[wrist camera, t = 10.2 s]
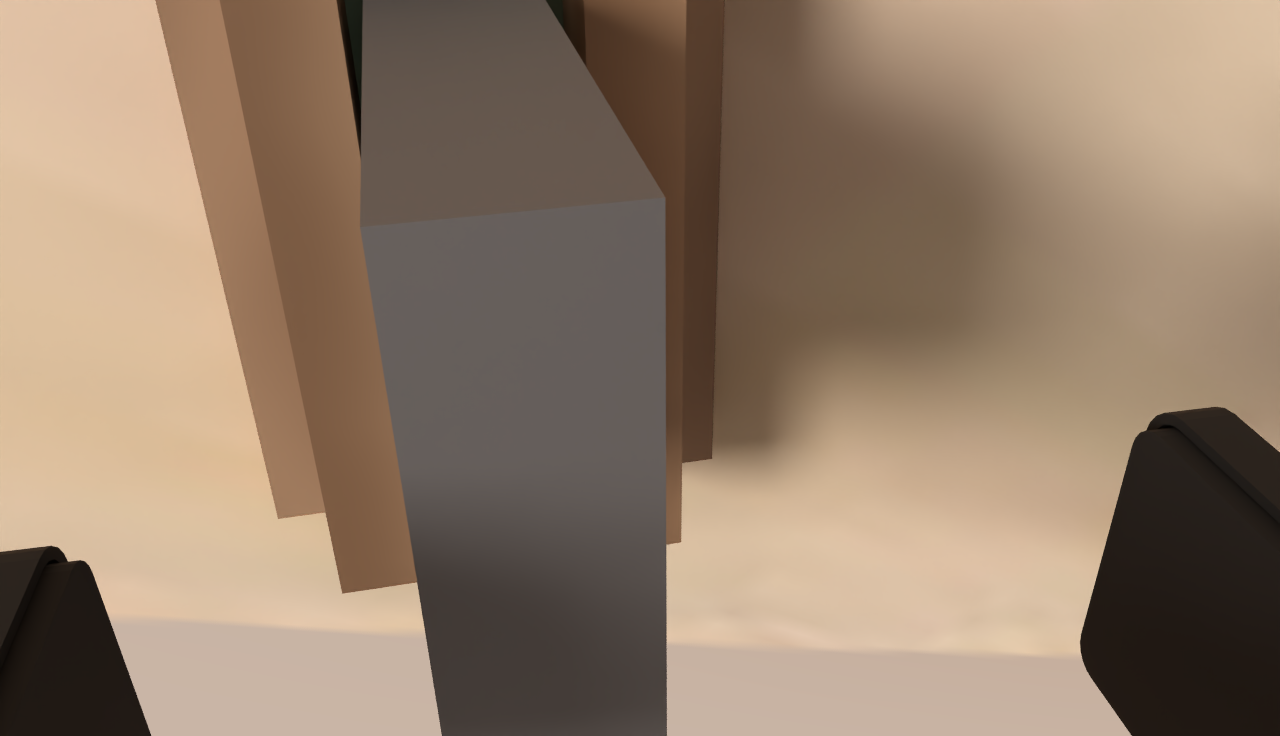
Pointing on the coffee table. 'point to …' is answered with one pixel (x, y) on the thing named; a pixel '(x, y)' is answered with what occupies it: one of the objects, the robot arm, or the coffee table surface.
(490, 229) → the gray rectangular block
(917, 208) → the coffee table surface
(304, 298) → the display stand
